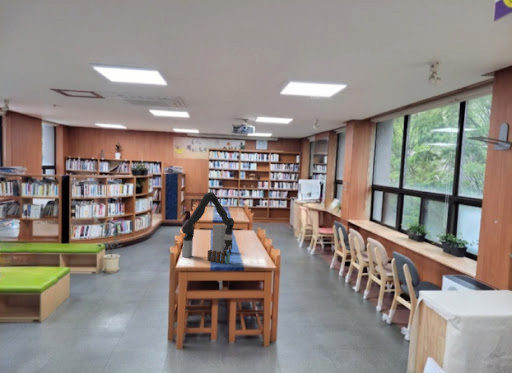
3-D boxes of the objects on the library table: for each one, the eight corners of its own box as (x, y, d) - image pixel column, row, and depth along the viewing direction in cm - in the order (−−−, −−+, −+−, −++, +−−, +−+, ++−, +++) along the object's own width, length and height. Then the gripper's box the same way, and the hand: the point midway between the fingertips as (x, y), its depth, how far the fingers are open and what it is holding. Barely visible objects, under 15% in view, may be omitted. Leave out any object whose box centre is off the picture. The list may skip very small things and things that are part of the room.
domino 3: (216, 262, 303) (216, 252, 302) (218, 260, 307) (219, 251, 307) (218, 262, 302) (218, 252, 301) (220, 261, 307) (220, 251, 306)
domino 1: (207, 260, 307) (207, 250, 306) (209, 259, 311) (210, 249, 311) (209, 260, 306) (209, 251, 305) (211, 259, 310) (212, 249, 310)
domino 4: (220, 263, 301) (221, 252, 300) (223, 261, 306) (223, 251, 305) (222, 263, 300) (222, 253, 300) (224, 262, 305) (225, 252, 304)
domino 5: (225, 263, 299) (225, 253, 299) (227, 262, 304) (228, 252, 303) (227, 264, 298) (227, 253, 298) (229, 262, 303) (229, 252, 302)
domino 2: (211, 261, 305) (212, 251, 304) (214, 260, 309) (214, 250, 309) (213, 261, 304) (213, 251, 303) (216, 260, 309) (216, 250, 308)
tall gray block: (212, 253, 334) (213, 225, 332) (212, 251, 339) (213, 224, 338) (225, 252, 337) (226, 225, 336) (225, 251, 343) (226, 224, 341)
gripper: (228, 236, 308) (227, 252, 309) (221, 239, 294) (220, 256, 295) (235, 237, 305) (234, 254, 306) (228, 240, 292) (227, 257, 293)
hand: (227, 255), depth 301 cm, fingers open, 8 cm apart
